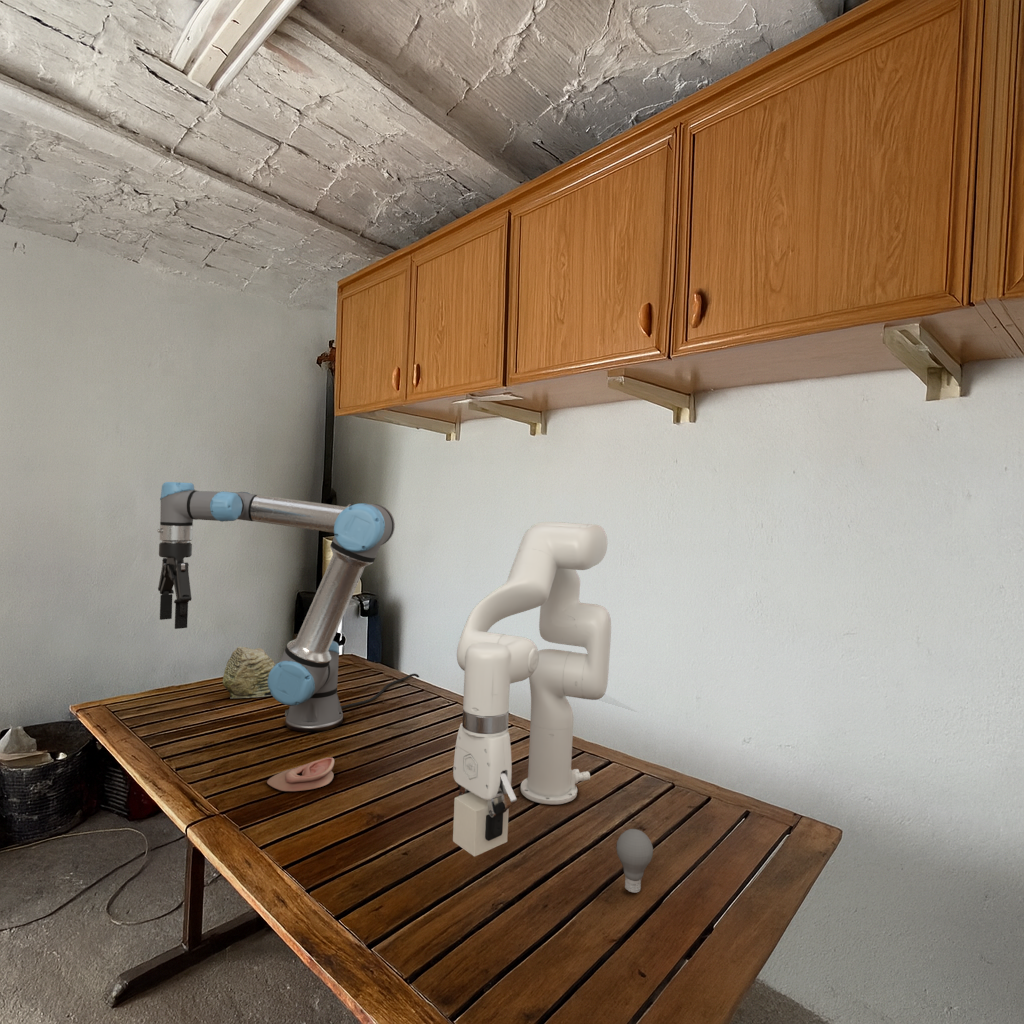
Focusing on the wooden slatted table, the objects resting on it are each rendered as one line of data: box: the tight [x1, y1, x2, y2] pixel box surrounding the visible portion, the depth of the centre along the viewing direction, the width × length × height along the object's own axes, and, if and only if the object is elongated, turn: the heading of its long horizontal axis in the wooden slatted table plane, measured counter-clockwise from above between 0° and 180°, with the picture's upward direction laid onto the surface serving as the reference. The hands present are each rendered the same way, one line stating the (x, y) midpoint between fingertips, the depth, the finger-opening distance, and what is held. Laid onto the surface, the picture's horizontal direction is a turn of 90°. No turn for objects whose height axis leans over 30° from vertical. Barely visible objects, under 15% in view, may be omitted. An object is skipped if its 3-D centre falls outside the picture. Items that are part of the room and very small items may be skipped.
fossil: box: [222, 646, 276, 699], centre depth 198 cm, size 9×18×15 cm, turn 132°
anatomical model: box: [266, 757, 335, 792], centre depth 140 cm, size 13×4×12 cm
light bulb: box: [615, 828, 654, 894], centre depth 106 cm, size 6×6×10 cm
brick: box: [452, 792, 510, 858], centre depth 104 cm, size 6×7×7 cm
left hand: (173, 623), depth 164 cm, fingers open, 13 cm apart
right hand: (481, 827), depth 104 cm, fingers closed on brick, 5 cm apart
